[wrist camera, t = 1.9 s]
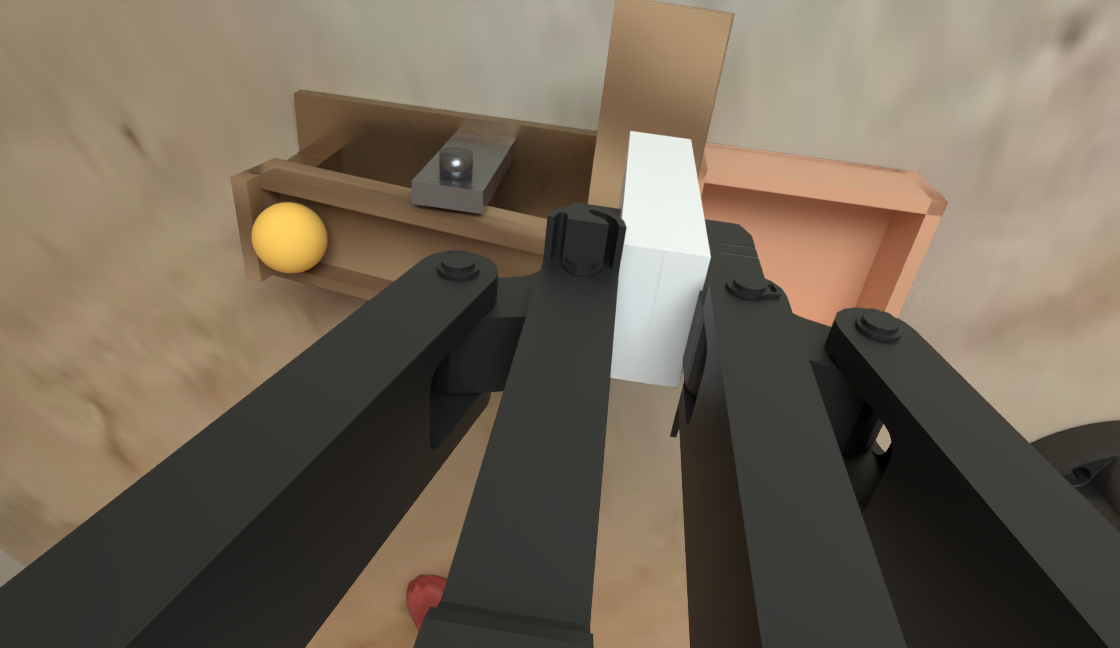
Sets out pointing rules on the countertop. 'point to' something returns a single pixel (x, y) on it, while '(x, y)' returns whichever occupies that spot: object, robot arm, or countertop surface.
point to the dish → (825, 225)
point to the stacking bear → (424, 596)
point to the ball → (289, 237)
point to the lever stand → (447, 153)
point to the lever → (501, 235)
